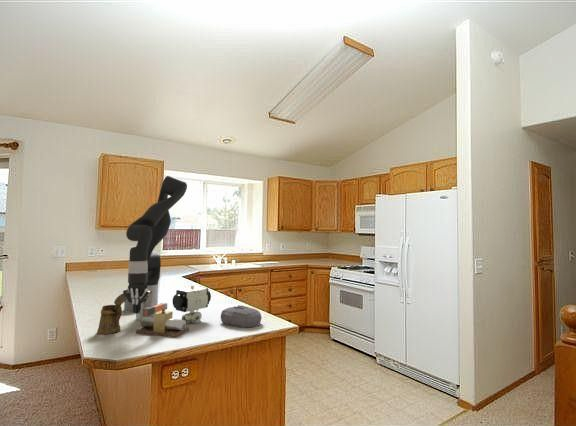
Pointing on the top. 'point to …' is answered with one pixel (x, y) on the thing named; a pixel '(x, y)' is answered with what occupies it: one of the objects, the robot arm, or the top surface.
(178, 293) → the ball valve
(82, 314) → the top surface
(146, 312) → the valve lever
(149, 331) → the stand
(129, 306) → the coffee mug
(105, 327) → the wooden mug
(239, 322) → the small grey backpack
